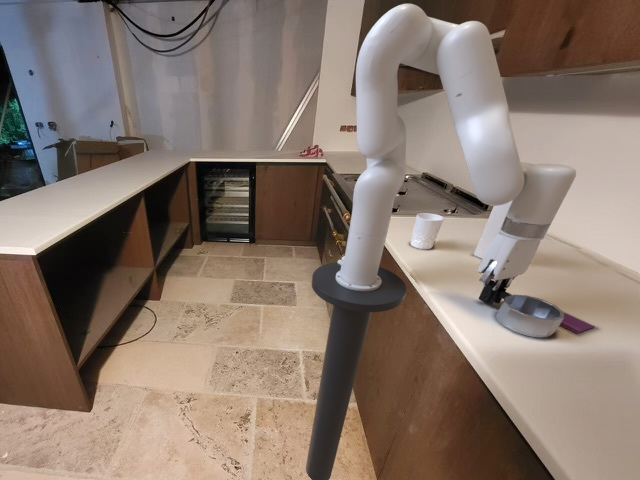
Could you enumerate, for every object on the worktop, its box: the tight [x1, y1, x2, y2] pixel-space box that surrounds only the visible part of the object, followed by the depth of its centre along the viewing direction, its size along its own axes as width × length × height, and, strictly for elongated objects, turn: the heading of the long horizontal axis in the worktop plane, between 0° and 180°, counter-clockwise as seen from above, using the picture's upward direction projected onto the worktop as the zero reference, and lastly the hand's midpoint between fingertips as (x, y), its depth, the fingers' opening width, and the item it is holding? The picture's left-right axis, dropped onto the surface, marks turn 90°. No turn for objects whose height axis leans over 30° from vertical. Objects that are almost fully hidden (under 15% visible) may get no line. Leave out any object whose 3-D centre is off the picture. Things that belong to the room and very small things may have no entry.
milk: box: [473, 200, 513, 260], centre depth 95 cm, size 6×6×22 cm
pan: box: [496, 289, 565, 339], centre depth 72 cm, size 15×10×5 cm, turn 20°
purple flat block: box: [559, 312, 595, 334], centre depth 73 cm, size 12×6×1 cm, turn 20°
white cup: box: [410, 212, 445, 250], centre depth 106 cm, size 8×8×10 cm
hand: (488, 300), depth 77 cm, fingers closed on pan, 1 cm apart
